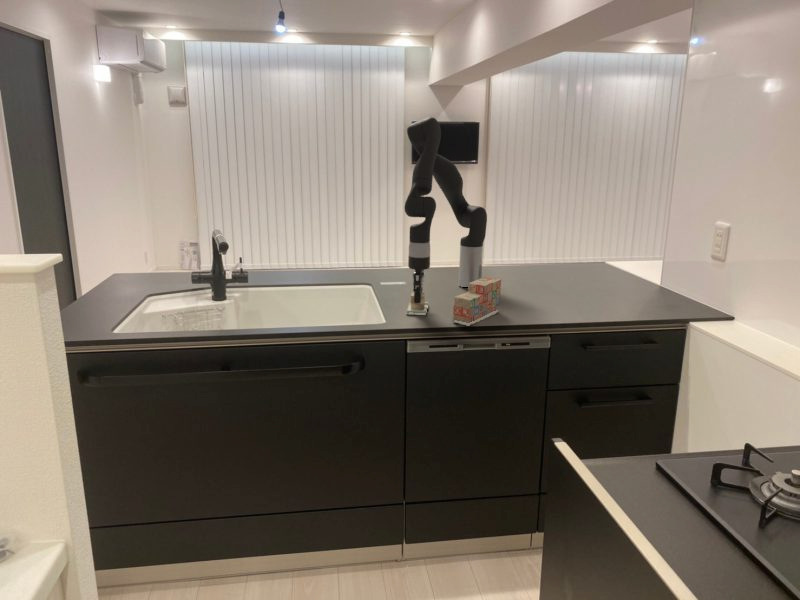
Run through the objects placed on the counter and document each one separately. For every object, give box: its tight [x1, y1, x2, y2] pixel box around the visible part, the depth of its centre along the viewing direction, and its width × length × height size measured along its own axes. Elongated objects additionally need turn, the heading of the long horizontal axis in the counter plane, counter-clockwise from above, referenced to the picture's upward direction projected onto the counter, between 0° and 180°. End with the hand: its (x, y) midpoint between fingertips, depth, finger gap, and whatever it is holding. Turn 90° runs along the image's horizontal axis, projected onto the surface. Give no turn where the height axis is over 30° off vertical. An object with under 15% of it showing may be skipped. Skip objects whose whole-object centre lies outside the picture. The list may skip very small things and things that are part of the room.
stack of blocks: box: [452, 276, 502, 323], centre depth 201 cm, size 21×6×12 cm, turn 143°
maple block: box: [410, 291, 426, 310], centre depth 209 cm, size 5×5×5 cm
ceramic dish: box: [406, 300, 430, 313], centre depth 210 cm, size 7×12×2 cm, turn 174°
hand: (418, 299), depth 209 cm, fingers open, 8 cm apart
